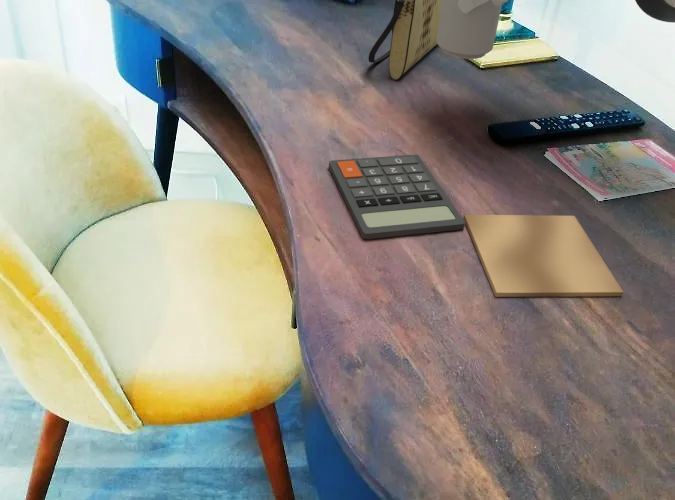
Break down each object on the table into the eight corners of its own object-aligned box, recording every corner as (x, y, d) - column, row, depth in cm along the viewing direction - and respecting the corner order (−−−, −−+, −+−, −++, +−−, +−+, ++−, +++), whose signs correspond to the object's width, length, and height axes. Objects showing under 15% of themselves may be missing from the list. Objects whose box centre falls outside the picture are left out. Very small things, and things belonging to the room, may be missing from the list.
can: (429, 39, 89) (443, -55, 81) (482, 40, 90) (501, -53, 82) (442, 61, 83) (458, -38, 75) (498, 62, 84) (520, -36, 76)
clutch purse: (422, 24, 123) (436, -61, 113) (457, 33, 121) (474, -53, 111) (356, 77, 101) (366, -23, 92) (397, 88, 99) (411, -13, 90)
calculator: (418, 152, 81) (466, 222, 70) (416, 159, 82) (465, 228, 71) (328, 159, 78) (364, 232, 67) (328, 165, 79) (363, 239, 68)
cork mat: (573, 219, 74) (574, 215, 74) (621, 296, 64) (624, 292, 64) (462, 218, 73) (464, 214, 72) (495, 297, 62) (496, 292, 62)
